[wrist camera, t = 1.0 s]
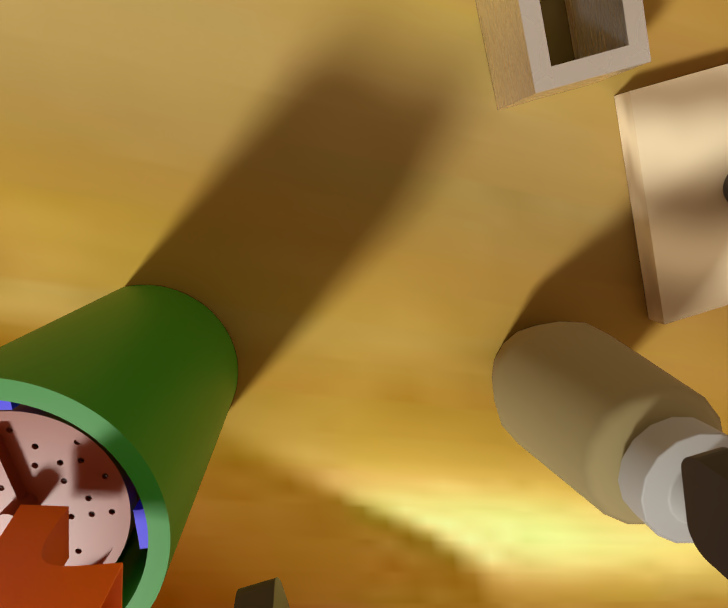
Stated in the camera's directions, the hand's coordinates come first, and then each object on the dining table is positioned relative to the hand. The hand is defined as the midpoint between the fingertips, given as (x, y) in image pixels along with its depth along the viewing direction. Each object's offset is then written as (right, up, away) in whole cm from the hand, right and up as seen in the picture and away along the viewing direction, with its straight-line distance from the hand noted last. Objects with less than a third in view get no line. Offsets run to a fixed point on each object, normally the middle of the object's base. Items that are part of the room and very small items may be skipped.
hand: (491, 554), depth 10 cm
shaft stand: (+20, +12, +23) cm, 33 cm away
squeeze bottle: (+9, +1, +24) cm, 25 cm away
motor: (-14, +1, +21) cm, 26 cm away
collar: (+7, +20, +20) cm, 29 cm away
